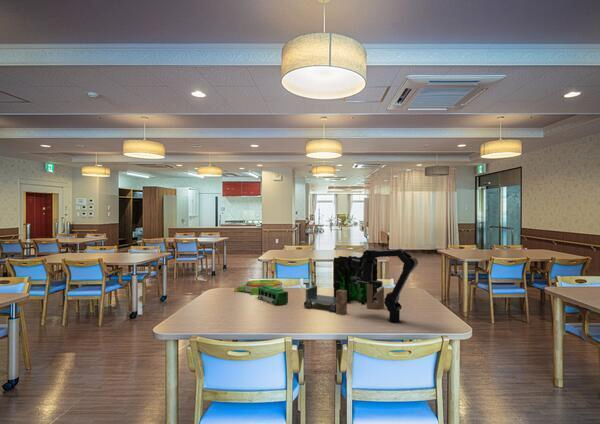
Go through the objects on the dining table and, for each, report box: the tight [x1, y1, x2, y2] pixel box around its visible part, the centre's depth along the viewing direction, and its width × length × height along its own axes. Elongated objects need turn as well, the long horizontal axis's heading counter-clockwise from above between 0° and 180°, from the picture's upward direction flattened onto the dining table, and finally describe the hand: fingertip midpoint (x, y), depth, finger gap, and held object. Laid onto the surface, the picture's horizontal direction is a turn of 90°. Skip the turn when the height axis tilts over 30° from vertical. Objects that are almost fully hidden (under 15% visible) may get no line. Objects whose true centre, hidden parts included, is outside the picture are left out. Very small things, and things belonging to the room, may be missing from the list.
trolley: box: [303, 285, 336, 313], centre depth 236 cm, size 23×17×12 cm
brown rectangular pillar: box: [335, 290, 348, 316], centre depth 222 cm, size 5×5×14 cm
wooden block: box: [366, 280, 385, 310], centre depth 234 cm, size 4×11×18 cm, turn 84°
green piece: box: [233, 279, 283, 296], centre depth 287 cm, size 29×38×8 cm
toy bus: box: [257, 285, 289, 306], centre depth 252 cm, size 11×27×10 cm, turn 31°
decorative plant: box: [333, 255, 378, 305], centre depth 259 cm, size 29×30×30 cm
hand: (365, 295), depth 216 cm, fingers open, 9 cm apart
